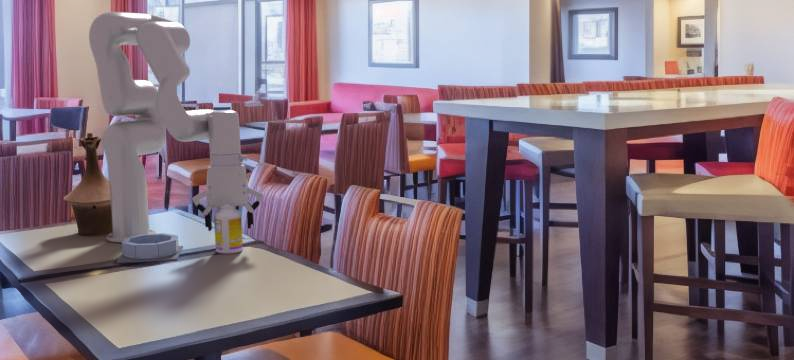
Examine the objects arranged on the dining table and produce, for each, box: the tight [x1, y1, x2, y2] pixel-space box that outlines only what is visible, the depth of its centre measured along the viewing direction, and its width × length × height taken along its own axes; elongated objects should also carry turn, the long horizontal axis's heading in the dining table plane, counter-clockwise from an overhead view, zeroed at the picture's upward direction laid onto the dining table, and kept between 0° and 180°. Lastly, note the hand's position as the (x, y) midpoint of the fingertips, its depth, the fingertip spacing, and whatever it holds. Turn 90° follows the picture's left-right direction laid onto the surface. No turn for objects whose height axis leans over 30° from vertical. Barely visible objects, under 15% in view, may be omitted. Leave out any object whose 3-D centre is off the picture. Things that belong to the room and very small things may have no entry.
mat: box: [116, 245, 184, 264], centre depth 204 cm, size 14×14×1 cm
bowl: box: [121, 232, 180, 260], centre depth 203 cm, size 13×13×4 cm
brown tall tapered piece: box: [63, 132, 112, 237], centre depth 230 cm, size 18×17×28 cm
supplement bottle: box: [213, 204, 244, 255], centre depth 206 cm, size 7×7×13 cm
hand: (229, 228), depth 205 cm, fingers open, 9 cm apart
